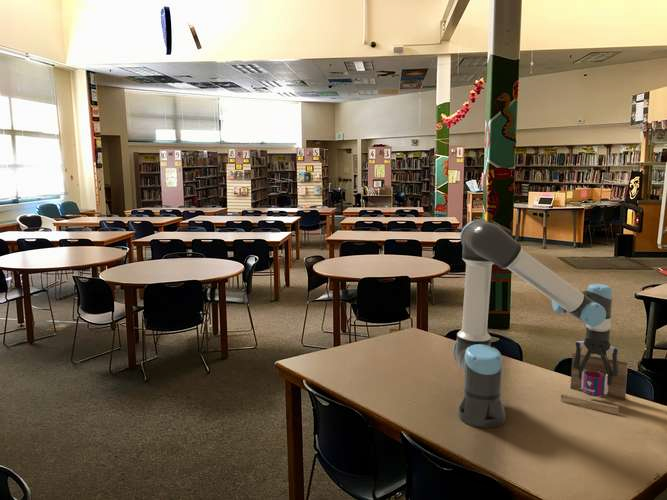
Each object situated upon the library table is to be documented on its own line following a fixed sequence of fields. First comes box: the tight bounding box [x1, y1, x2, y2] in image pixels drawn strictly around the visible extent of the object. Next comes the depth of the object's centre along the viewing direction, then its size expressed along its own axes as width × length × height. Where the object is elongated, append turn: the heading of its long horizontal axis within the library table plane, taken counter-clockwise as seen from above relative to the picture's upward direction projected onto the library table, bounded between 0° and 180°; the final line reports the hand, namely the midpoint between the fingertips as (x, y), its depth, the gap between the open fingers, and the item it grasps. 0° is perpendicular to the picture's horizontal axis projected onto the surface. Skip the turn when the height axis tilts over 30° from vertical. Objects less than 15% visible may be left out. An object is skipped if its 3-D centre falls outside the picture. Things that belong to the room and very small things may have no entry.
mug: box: [582, 371, 605, 397], centre depth 186 cm, size 7×10×7 cm
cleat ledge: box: [560, 393, 619, 416], centre depth 180 cm, size 1×18×2 cm, turn 53°
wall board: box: [570, 351, 629, 401], centre depth 191 cm, size 3×18×14 cm, turn 53°
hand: (594, 390), depth 186 cm, fingers closed on mug, 7 cm apart
